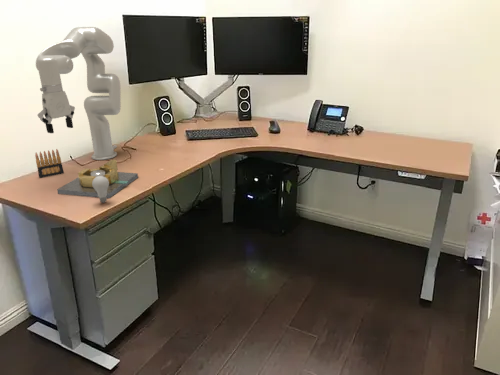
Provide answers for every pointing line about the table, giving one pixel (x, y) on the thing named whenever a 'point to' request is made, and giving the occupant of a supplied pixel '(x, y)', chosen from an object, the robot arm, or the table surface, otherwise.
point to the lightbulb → (101, 187)
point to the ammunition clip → (49, 164)
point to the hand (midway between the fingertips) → (60, 130)
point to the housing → (79, 190)
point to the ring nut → (108, 167)
